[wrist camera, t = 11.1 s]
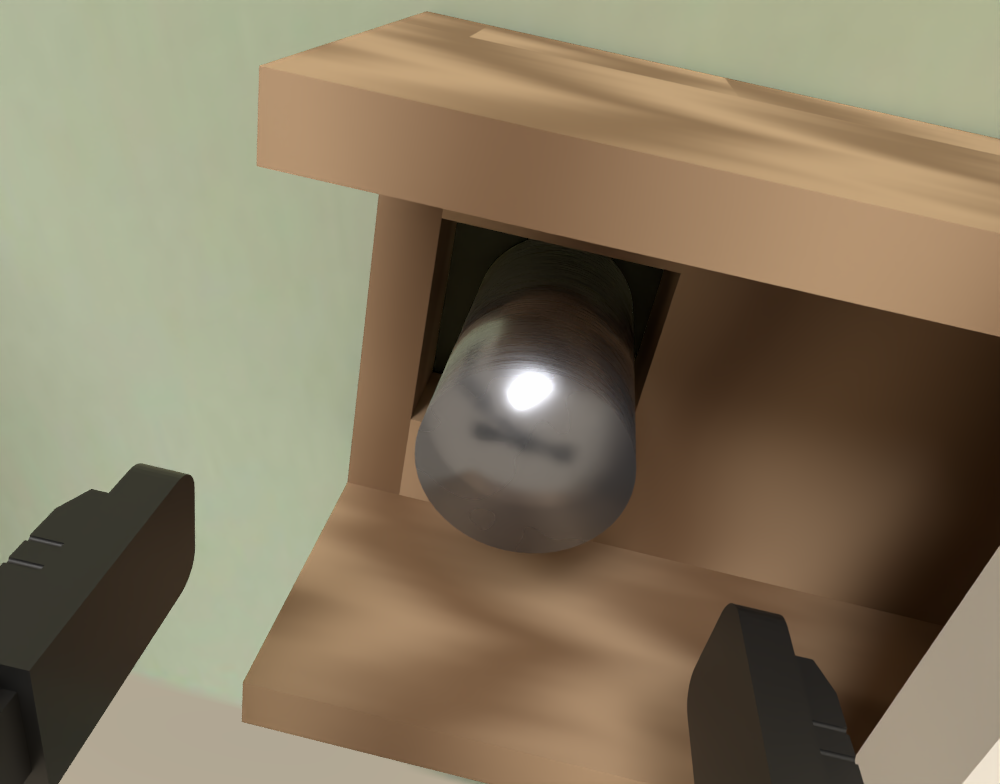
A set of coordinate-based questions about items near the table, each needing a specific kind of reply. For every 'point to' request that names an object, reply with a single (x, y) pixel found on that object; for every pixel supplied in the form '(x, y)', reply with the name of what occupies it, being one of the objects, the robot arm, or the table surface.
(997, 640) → the lid
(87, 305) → the table surface
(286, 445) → the table surface
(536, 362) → the silver metal cylinder
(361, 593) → the box
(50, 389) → the table surface
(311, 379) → the table surface
